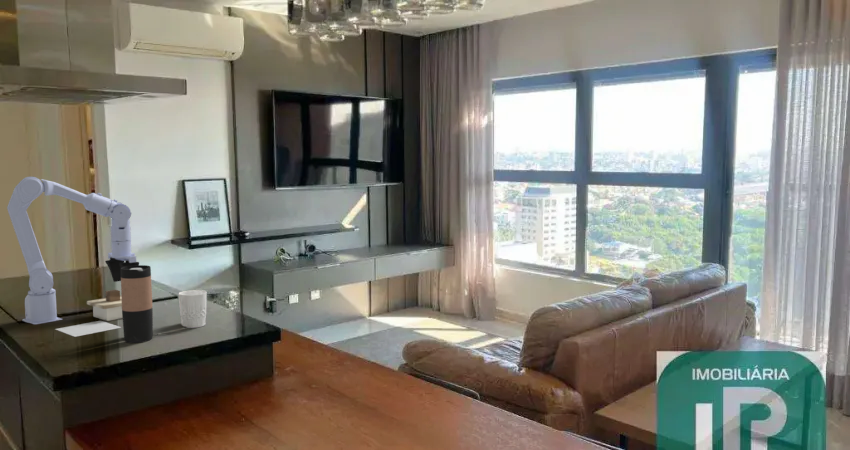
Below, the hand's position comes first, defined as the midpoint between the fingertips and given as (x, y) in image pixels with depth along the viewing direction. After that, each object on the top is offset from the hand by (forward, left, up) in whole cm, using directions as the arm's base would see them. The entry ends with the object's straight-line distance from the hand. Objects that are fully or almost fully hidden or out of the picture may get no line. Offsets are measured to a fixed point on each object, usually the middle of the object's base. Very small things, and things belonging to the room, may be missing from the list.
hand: (123, 282), depth 205 cm
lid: (+4, -5, -5) cm, 9 cm away
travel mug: (+34, -13, -10) cm, 38 cm away
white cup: (+32, +5, -10) cm, 34 cm away
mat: (+13, -17, -10) cm, 24 cm away
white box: (+4, -5, -10) cm, 12 cm away
